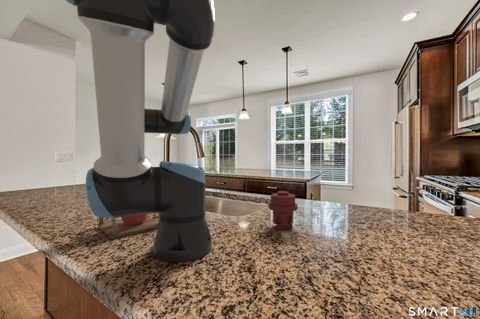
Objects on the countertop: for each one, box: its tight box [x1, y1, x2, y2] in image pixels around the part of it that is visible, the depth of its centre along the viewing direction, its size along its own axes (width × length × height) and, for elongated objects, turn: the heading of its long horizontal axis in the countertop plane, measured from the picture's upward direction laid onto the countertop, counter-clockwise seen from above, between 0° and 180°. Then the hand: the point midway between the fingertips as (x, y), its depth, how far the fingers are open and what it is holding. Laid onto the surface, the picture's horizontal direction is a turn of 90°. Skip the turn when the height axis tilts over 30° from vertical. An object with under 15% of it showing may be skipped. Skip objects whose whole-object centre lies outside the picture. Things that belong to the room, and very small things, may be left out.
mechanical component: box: [268, 190, 299, 231], centre depth 78 cm, size 12×10×10 cm
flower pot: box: [120, 214, 149, 225], centre depth 78 cm, size 11×11×10 cm
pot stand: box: [97, 213, 160, 240], centre depth 78 cm, size 16×16×6 cm
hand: (130, 214), depth 78 cm, fingers open, 12 cm apart
